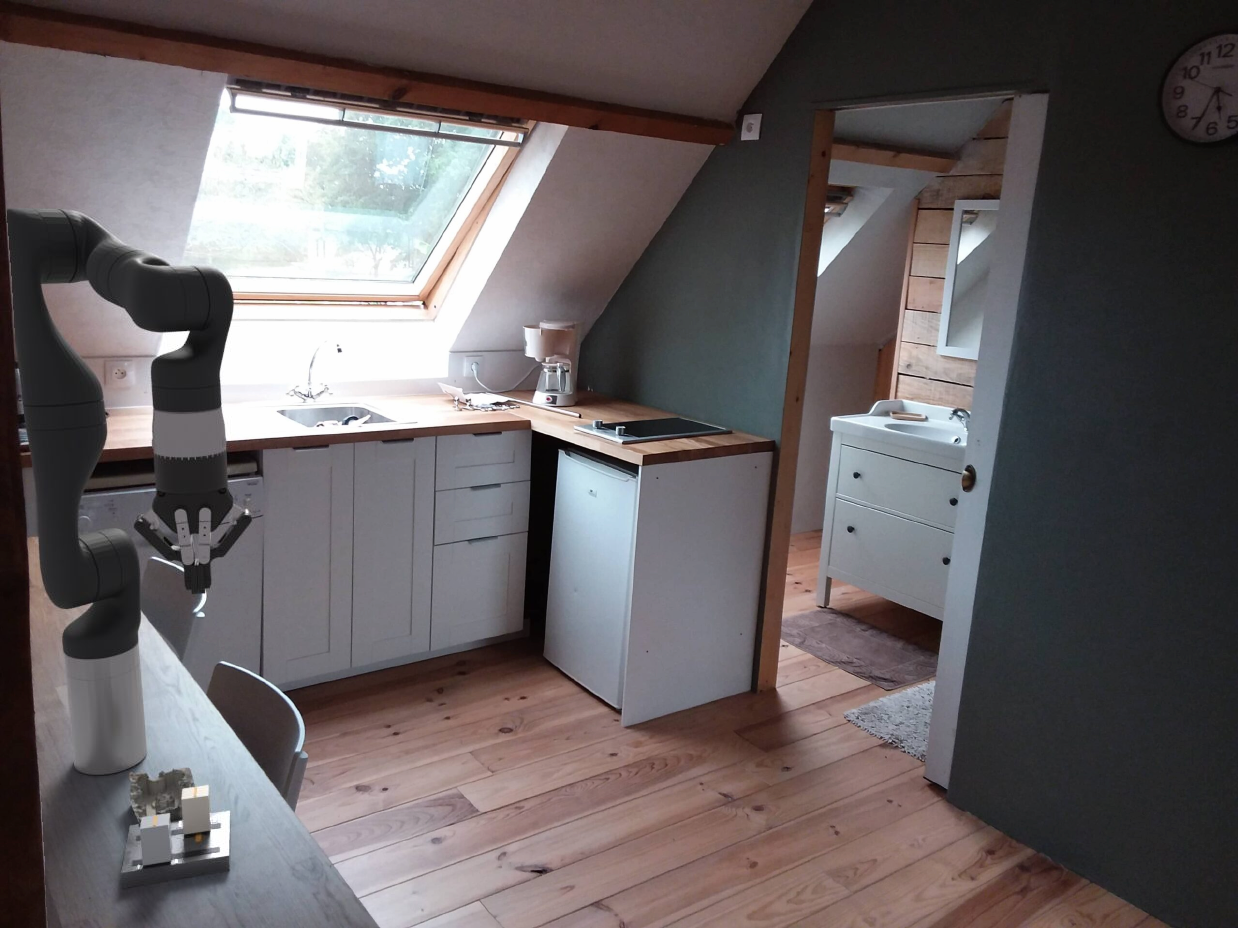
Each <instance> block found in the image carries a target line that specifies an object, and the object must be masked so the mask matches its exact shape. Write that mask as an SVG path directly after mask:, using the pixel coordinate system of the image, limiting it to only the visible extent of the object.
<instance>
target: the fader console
mask: <svg viewBox="0 0 1238 928" xmlns="http://www.w3.org/2000/svg"><path fill="white" fill-rule="evenodd" d="M170 820H171V835H172V858H171V861H168V862H162V863H156V864H150V865H143V862H142V849H141V837H140V825H141V824H139V823H138V824H137V823H136V824H131V825H129V829H128V834H127V840H126V845H125V850H124V856H123V861H122V862H123V863H122V867H121V872H120V876H121V887H122V888H123V889H126V888H131V887H139V886H143V885H149V884H150V885H151V884H156V883H163V882H166V881H173V880H174V881H175V880H179V879H185V878H191V877H197V876H202V875H208V874H214V873H221V872H225V871H227V872H228V871H230V868H231V833H232V832H231V828H232V827H231V825H232V822H231V810H224V811H218V812H212V813H211V829H210V831H203V832H197V833H190V834H184V831H183V818H177V819H170Z"/></svg>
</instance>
